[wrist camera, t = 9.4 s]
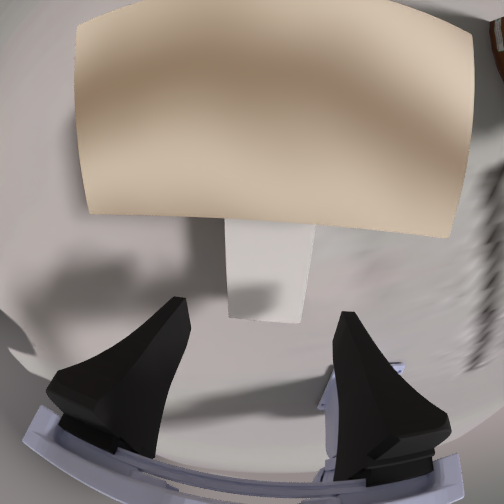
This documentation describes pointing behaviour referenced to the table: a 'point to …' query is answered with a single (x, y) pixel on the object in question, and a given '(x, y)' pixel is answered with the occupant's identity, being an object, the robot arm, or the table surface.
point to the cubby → (276, 112)
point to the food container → (498, 43)
